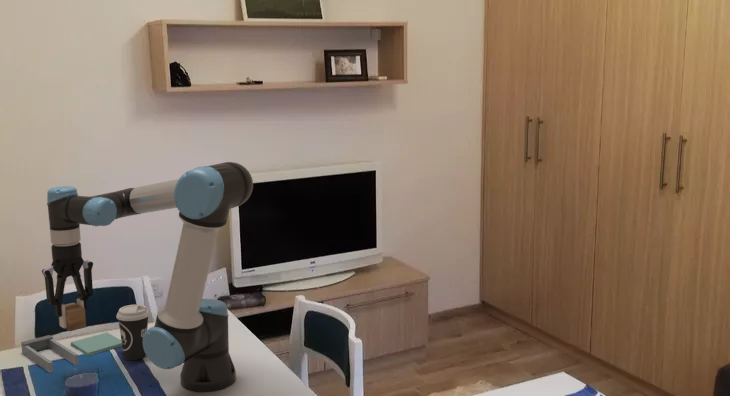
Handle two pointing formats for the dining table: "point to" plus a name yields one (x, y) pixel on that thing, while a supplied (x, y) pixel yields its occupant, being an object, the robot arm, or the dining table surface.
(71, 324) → the walnut block
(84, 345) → the teal coaster
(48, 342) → the grey channel
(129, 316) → the coffee cup
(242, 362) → the dining table surface
